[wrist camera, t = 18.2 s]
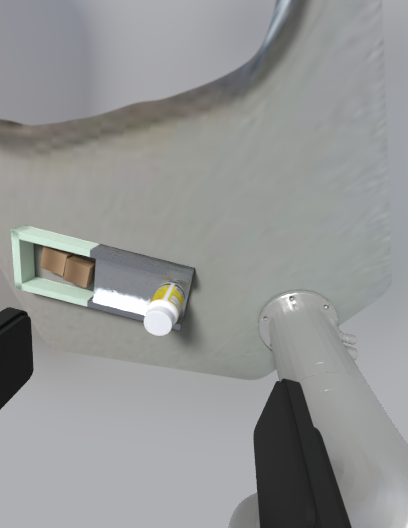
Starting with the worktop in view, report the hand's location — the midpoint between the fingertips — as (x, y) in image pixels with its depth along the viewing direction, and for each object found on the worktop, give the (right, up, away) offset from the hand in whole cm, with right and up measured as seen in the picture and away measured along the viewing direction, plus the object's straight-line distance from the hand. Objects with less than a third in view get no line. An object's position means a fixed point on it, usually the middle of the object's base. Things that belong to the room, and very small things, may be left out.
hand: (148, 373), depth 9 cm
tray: (-22, +4, +34) cm, 41 cm away
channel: (-8, +1, +34) cm, 35 cm away
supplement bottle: (-3, -1, +33) cm, 33 cm away
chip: (-22, +5, +34) cm, 41 cm away
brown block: (-19, +3, +34) cm, 39 cm away
